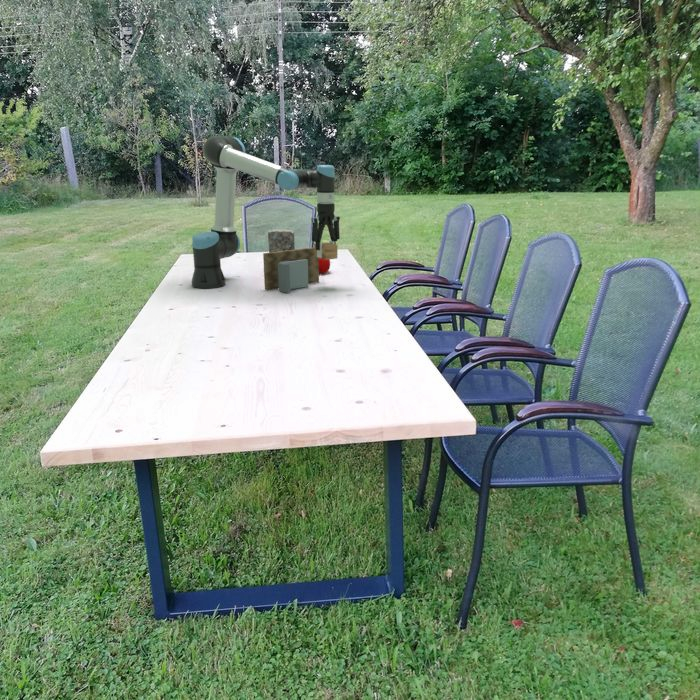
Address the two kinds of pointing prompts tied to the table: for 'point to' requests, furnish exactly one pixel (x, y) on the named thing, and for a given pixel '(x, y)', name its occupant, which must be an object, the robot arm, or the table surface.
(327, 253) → the block
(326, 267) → the tomato
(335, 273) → the table surface
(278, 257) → the wall frame
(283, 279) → the gate
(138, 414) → the table surface
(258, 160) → the robot arm
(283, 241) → the stone block
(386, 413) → the table surface
